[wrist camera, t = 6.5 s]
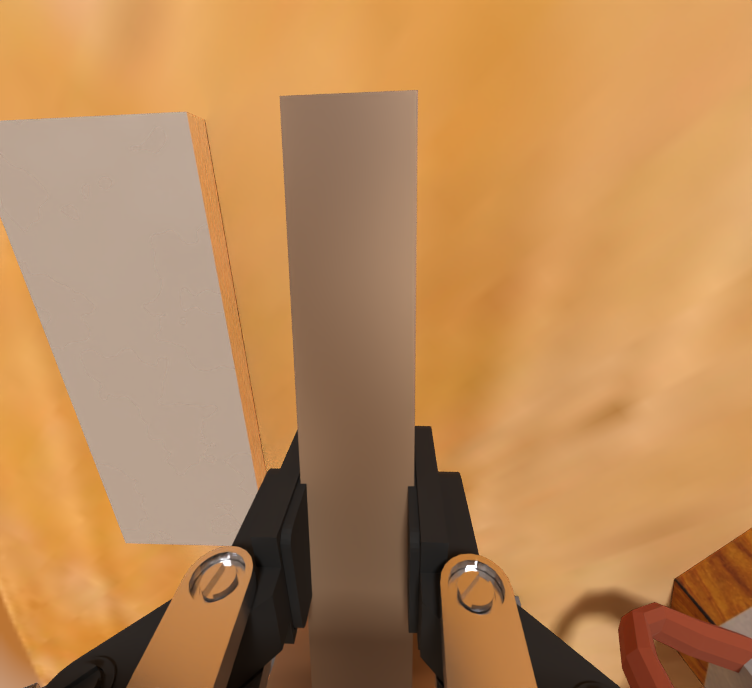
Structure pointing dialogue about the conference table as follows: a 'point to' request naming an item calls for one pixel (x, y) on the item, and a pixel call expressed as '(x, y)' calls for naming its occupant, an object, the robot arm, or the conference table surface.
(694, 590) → the mug
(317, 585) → the brown t-shaped post
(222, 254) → the tool rest
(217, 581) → the robot arm
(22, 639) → the conference table surface
